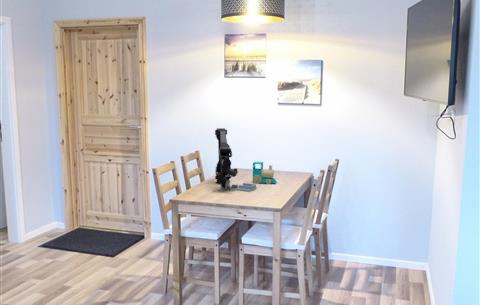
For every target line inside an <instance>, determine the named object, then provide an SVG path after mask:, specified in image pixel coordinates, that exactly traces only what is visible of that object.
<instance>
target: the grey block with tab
mask: <svg viewBox="0 0 480 305" xmlns="http://www.w3.org/2000/svg"><path fill="white" fill-rule="evenodd" d="M230 184H231V182H230V179H229V180H228V179H227V180H226V181H225V188H223V187H222V185H221V184H220V190H226V191H228V190H230V188H231V185H230Z"/></svg>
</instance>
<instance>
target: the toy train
mask: <svg viewBox="0 0 480 305" xmlns="http://www.w3.org/2000/svg"><path fill="white" fill-rule="evenodd" d="M256 165H260V168H256ZM274 174H275V172H274V169H273V164H268V169H267V168H264V161H252V183H253V184H256V185H258V184H260V183H263V184H266V185H271V184H276V183H277V180H276V179H275V178H274Z"/></svg>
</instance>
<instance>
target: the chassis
mask: <svg viewBox="0 0 480 305" xmlns="http://www.w3.org/2000/svg"><path fill="white" fill-rule="evenodd" d="M256 189H257V184H256V183H247V182H243V183H242V184H231V186H230V189H229V190H233V191H239V192H240V191H241V192H248V193H249V192H250V193H251V192H252V191H255V190H256Z"/></svg>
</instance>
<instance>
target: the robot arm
mask: <svg viewBox="0 0 480 305" xmlns="http://www.w3.org/2000/svg"><path fill="white" fill-rule="evenodd" d="M214 135H215V138H216V140H217V141H218V142H217V144H218V145H217V146H218V151H217V152H218V161H217V163H216V166H215V170H214V172H215V176H214V178H215V180H216V182H215V184H220V186H221V185H222V187H223V188H225V181H226V180H227V179H228V180H230V179H231V178H234V177H236V176H237V174H239V172H238V171H239V170H238V168H233V169H232V167H231V166H232V160H230V158H232V157H233V151H232V148H230V145H229V143H228V140H227V135H228V129H226V128H224V127H223V128H222V127H221V128H219V127H218V128H216V129H215V130H214Z"/></svg>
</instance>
